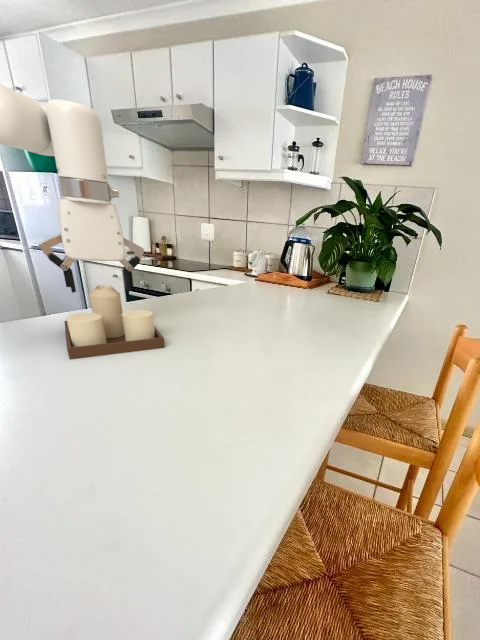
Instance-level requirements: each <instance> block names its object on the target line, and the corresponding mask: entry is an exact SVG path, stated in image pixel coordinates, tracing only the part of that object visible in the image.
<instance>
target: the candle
mask: <svg viewBox="0 0 480 640" xmlns="http://www.w3.org/2000/svg"><path fill="white" fill-rule="evenodd" d="M88 298H89V301H90V307H91V313H95V314H99V315H101V316H102V320H103V325H104V331H105V336H106V338H116V337H121V336H123V335H125V333H124V326H123V320H122V313H123V312H124V311H123V306H122V299H121V294H120V292H119V291H118V290H117V289H115V288H114V287H113V285H109V286H105V285H104V284H98V285H97V286H95V287H94V289H92V290H91V291H90V292H89V293H88Z"/></svg>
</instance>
